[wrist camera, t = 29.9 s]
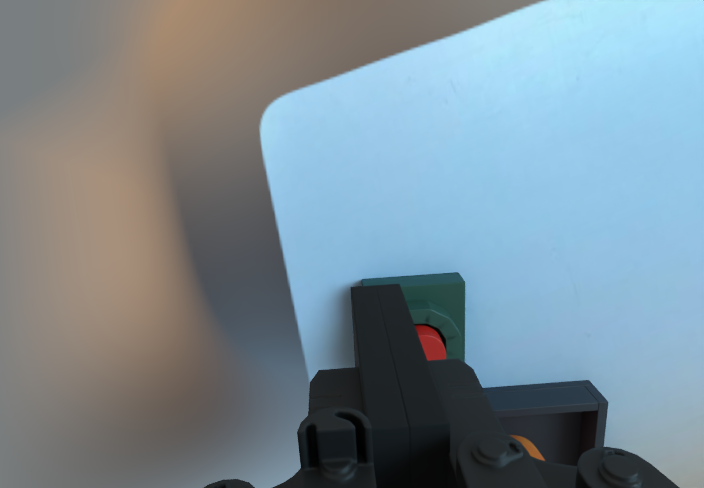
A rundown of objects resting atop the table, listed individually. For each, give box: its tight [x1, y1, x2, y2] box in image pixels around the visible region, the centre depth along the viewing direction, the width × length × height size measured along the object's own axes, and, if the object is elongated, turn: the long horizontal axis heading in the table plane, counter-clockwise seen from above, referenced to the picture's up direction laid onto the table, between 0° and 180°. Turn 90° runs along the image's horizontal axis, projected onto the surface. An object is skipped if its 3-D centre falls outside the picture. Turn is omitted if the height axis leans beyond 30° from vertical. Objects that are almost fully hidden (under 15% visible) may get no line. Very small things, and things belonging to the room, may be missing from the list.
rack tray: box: [483, 380, 608, 466], centre depth 45 cm, size 15×15×3 cm
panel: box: [362, 273, 465, 363], centre depth 41 cm, size 8×9×4 cm
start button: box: [415, 325, 446, 361], centre depth 38 cm, size 4×4×2 cm
